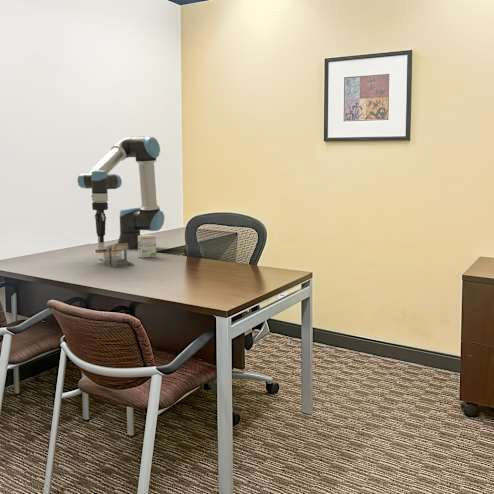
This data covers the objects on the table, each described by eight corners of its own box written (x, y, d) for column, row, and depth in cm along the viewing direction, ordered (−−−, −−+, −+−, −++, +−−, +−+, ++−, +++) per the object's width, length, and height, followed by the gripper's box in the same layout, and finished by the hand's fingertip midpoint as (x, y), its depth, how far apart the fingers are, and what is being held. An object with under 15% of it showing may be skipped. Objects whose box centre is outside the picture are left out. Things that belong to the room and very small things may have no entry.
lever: (95, 253, 284) (95, 247, 284) (118, 251, 289) (118, 245, 289) (103, 250, 268) (103, 244, 268) (128, 249, 273) (127, 243, 273)
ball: (114, 258, 294) (112, 255, 297) (114, 253, 292) (113, 249, 295) (107, 259, 292) (105, 255, 295) (107, 253, 291) (106, 250, 293)
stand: (103, 261, 285) (102, 245, 284) (124, 260, 290) (124, 244, 289) (111, 267, 270) (111, 250, 269) (134, 265, 275) (133, 248, 274)
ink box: (152, 255, 305) (152, 234, 303) (156, 257, 300) (156, 235, 299) (137, 257, 300) (137, 235, 298) (141, 258, 296) (140, 236, 294)
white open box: (116, 256, 300) (116, 245, 299) (122, 260, 291) (121, 248, 290) (99, 258, 296) (99, 246, 295) (104, 261, 287) (103, 249, 286)
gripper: (89, 201, 283) (90, 247, 287) (95, 202, 272) (96, 251, 275) (104, 200, 287) (105, 246, 290) (110, 202, 275) (111, 250, 279)
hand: (101, 248), depth 283 cm, fingers closed
